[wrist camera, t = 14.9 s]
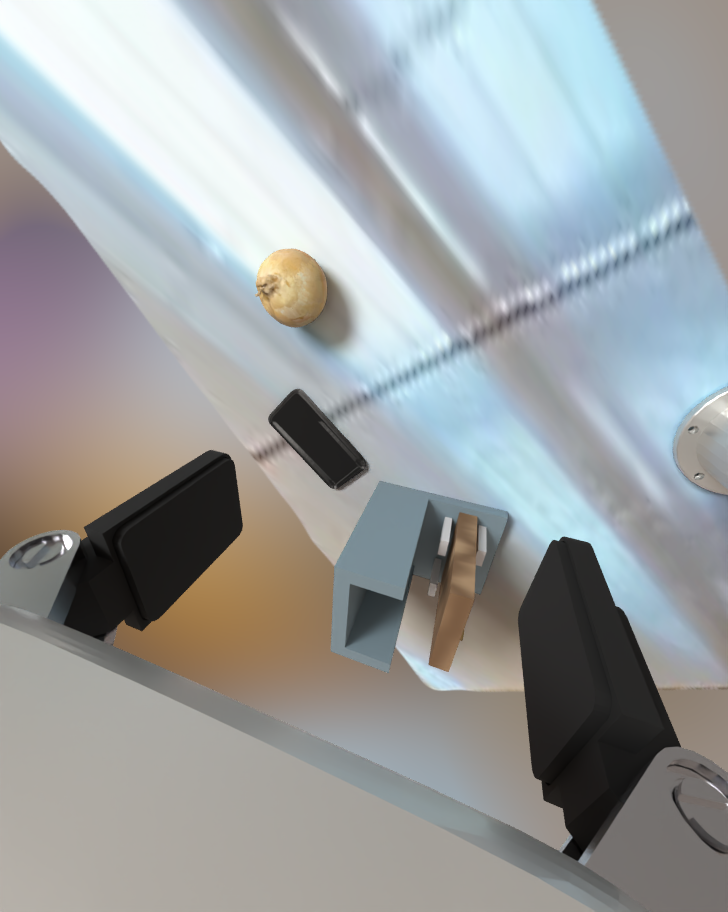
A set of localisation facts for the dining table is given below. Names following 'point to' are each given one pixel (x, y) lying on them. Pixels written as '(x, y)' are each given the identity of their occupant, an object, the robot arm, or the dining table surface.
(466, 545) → the door
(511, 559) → the dining table surface
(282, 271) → the onion
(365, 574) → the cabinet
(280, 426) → the phone
